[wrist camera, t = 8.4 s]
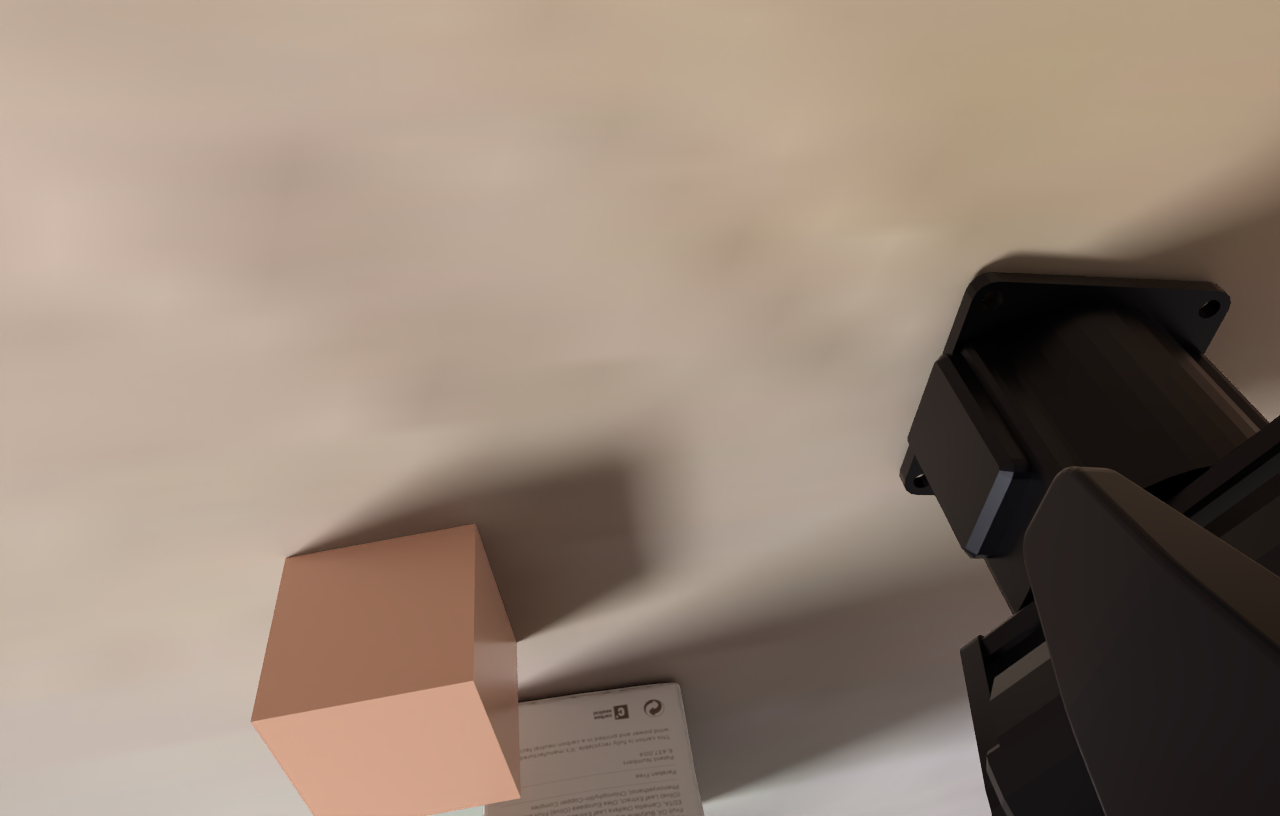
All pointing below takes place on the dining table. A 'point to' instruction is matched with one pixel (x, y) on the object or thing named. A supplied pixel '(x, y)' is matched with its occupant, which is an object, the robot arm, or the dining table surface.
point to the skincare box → (605, 756)
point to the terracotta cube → (393, 678)
